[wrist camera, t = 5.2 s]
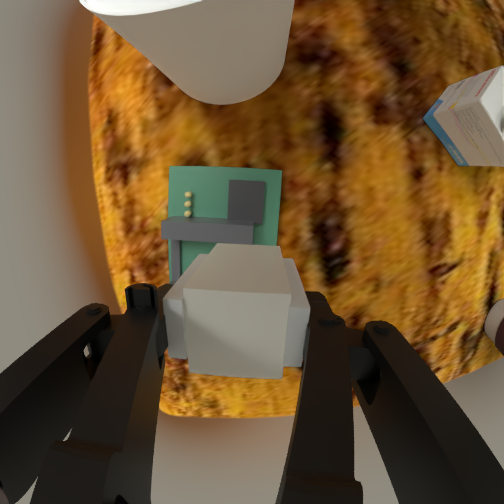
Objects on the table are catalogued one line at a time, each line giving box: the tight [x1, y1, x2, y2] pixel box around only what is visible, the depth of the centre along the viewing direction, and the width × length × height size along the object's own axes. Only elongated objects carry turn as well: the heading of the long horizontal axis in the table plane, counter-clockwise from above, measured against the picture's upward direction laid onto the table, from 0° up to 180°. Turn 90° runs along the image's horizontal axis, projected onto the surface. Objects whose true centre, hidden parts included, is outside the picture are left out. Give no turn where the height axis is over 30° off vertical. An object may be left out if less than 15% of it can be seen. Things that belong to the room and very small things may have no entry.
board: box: [161, 166, 282, 284], centre depth 29 cm, size 16×12×5 cm
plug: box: [183, 243, 291, 379], centre depth 14 cm, size 4×4×8 cm
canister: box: [79, 0, 295, 105], centre depth 16 cm, size 14×14×20 cm
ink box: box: [423, 65, 504, 167], centre depth 20 cm, size 9×8×13 cm
